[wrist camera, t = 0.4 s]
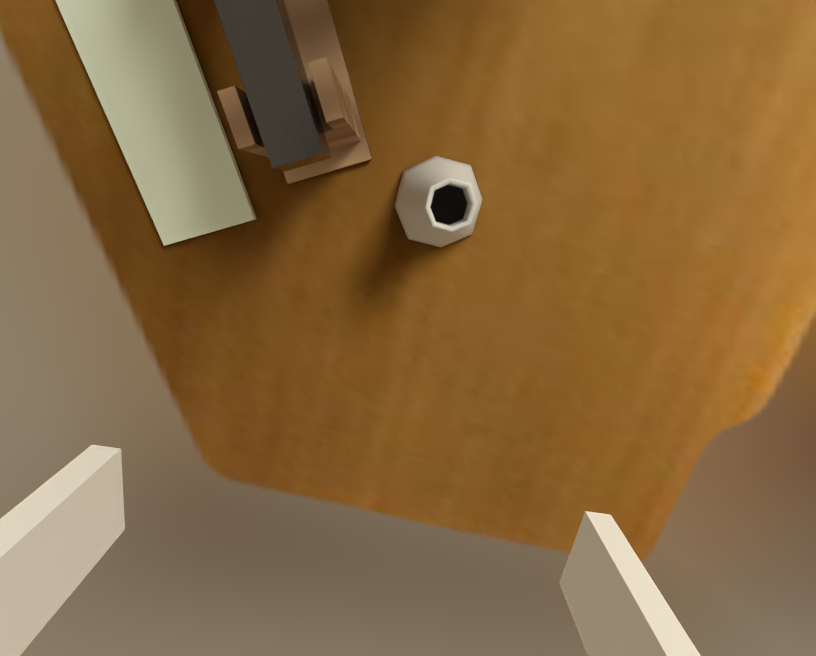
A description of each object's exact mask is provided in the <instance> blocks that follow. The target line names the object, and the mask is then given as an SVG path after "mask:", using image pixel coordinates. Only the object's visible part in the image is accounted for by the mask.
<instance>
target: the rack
mask: <svg viewBox="0 0 816 656" xmlns="http://www.w3.org/2000/svg"><path fill="white" fill-rule="evenodd" d="M284 2H285V5H286V9H287V12H288V15H289V19H290V22H291V25H292V28H293V32H294V35H295V38H296V42H297V45H298V48H299V51H300V55H301V58H302V61H303V65H304V68H305V71H306V74H307V78H308V81H309V84H310V88H311V91H312V94H313V97H314V101H315V104H316V107H317V111H318V114H319V117H320V120H321V124H322V127H323V130H324V134H325V137H326V140H327V143H328V147H329V150H330V153H331V157H332V158H329V159H326V160H322V161H319V162H316V163H312V164H309V165H305V166H302V167H299V168H295V169H292V170H289V171H283V173H284V176H285V179H286V181H287V184H290V183H294V182H297V181H300V180H304V179H307V178H311V177H314V176H317V175H321V174H324V173H328V172H331V171H334V170H338V169H341V168H345V167H348V166H351V165H355V164H358V163H362V162H365V161H368V160H372V158H371V154H370V151H369V147H368V144H367V140H366V136H365V133H364V129H363V126H362V122H361V118H360V115H359V111H358V108H357V104H356V101H355V97H354V93H353V90H352V86H351V83H350V79H349V75H348V72H347V68H346V65H345V61H344V57H343V54H342V50H341V47H340V43H339V39H338V36H337V32H336V29H335V25H334V21H333V18H332V14H331V11H330V7H329V3H328V0H284ZM217 92H218V95H219V98H220V101H221V103H222V106H223V109H224V112H225V114H226V117H227V120H228V123H229V125H230V128H231V131H232V134H233V136H234V139H235V142H236V145H237V147H238V149H240V150H243V151H246V152H250V153H253V154H257V155H260V156H264V157H267V158H268V155H267V152H266V150H265V147H264V144H263V141H262V138H261V135H260V132H259V129H258V127H257V124H256V121H255V118H254V115H253V112H252V109H251V106H250V103H249V101H248V98H247V95H246V93H245V92H243V91H242V90H240V89H239V88H237V87H235V86H232V87H229V88H226V89H222V90H219V91H217Z"/></svg>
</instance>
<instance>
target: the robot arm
mask: <svg viewBox="0 0 816 656" xmlns="http://www.w3.org/2000/svg"><path fill="white" fill-rule="evenodd" d="M124 530H125V520H124V500H123V480H122V461H121V449H120V448H112V447H105V446H97V445H91V446H90V447H89V448H87V449H86V450H85V451H84V452H83V453H81V454H80V455H79V456H78V457H76V458H75V459H74V460H72V461H71V462H70V463H69V464H68V465H66V466H65V467H64V468H63V469H61V470H60V471H59V472H58V473H56V474H55V475H54V476H53V477H51V478H50V479H49V480H48V481H46V482H45V483H44V484H43V485H42V486H40V487H39V488H38V489H37V490H36V491H34V492H33V493H32V494H30V495H29V496H28V497H27V498H25V499H24V500H23V501H22V502H21V503H19V504H18V505H17V506H16V507H14V508H13V509H12V510H11V511H9V512H8V513H7V514H6V515H4V516H3V517H2V518H1V519H0V656H20V655H21V654H22V653H23V651H24V650H25V649H26V648H27V647H28V645H29V644H30V643H31V642H32V640H33V639H34V638H35V637H36V636H37V634H38V633H39V632H40V631H41V630H42V628H43V627H44V626H45V625H46V623H47V622H48V621H49V620H50V619H51V618H52V616H53V615H54V614H55V613H56V612H57V610H58V609H59V608H60V607H61V605H62V604H63V603H64V602H65V601H66V599H67V598H68V597H69V596H70V595H71V593H72V592H73V591H74V590H75V589H76V587H77V586H78V585H79V584H80V583H81V581H82V580H83V579H84V578H85V577H86V575H87V574H88V573H89V572H90V571H91V569H92V568H93V567H94V566H95V565H96V563H97V562H98V561H99V559H100V558H101V557H102V556H103V555H104V554H105V553H106V551H107V550H108V549H109V548H110V546H111V545H112V544H113V543H114V541H115V540H116V539H117V538H118V537H119V536H120V534H121V533H122V532H123V531H124ZM559 584H560V586H561V589H562V591H563V594H564V596H565V599H566V601H567V604H568V606H569V609H570V611H571V614H572V616H573V619H574V622H575V624H576V627H577V629H578V632H579V634H580V637H581V640H582V642H583V645H584V647H585V650H586V652H587V655H588V656H700V654H699V653H698V651H697V650H696V648H695V646H694V645H693V643H692V642H691V640H690V639H689V637H688V635H687V634H686V632H685V631H684V629H683V628H682V626H681V624H680V623H679V621H678V620H677V618H676V617H675V615H674V613H673V612H672V610H671V609H670V607H669V606H668V604H667V603H666V601H665V599H664V598H663V596H662V595H661V593H660V591H659V590H658V589H657V587H656V586H655V584H654V582H653V580H652V579H651V578H650V576H649V574H648V573H647V571H646V570H645V568H644V566H643V565H642V563H641V562H640V560H639V558H638V557H637V555H636V554H635V552H634V551H633V549H632V547H631V546H630V544H629V543H628V541H627V540H626V538H625V536H624V535H623V533H622V532H621V530H620V529H619V527H618V525H617V524H616V522H615V521H614V519H613V518H612V516H611V515H609V514H602V513H594V512H587V511H585V514H584V516H583V519H582V522H581V525H580V527H579V530H578V533H577V536H576V538H575V541H574V544H573V547H572V549H571V552H570V555H569V558H568V560H567V563H566V566H565V569H564V571H563V574H562V577H561V580H560V582H559Z"/></svg>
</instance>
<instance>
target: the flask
mask: <svg viewBox="0 0 816 656" xmlns="http://www.w3.org/2000/svg"><path fill="white" fill-rule="evenodd" d="M482 200H483V199H482V197H481V194H480V191H479V188H478V185H477V182H476V179H475V176H474V173H473V170H472V168H471V165H468V164H464V163H461V162H457V161H454V160H450V159H446V158H443V157H439V156H434V157H432V158H430V159H428V160H425V161H423V162H421V163H419V164H416V165H414V166H412V167H409V168H407V169H405V170H403V173H402V177H401V181H400V185H399V189H398V194H397V198H396V202H395V209H396V211H397V214H398V216H399V219H400V221H401V224H402V226H403V228H404V231H405V233H406V236H407V238H408V239H409V240H413V241H417V242H421V243H425V244H429V245H433V246H436V247H440V248H441V247H443V246H446V245H448V244H450V243H453V242H455V241H458V240H460V239H462V238H465V237H467V236H470V235H472V234H473V231H474V227H475V224H476V221H477V217H478V214H479V210H480V207H481V204H482Z"/></svg>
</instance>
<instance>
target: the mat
mask: <svg viewBox="0 0 816 656" xmlns="http://www.w3.org/2000/svg"><path fill="white" fill-rule="evenodd" d="M55 1H56V3H57V5H58V7H59V10H60V12H61V14H62V16H63V19H64V21H65V23H66V26H67V28H68V30H69V32H70V35H71V37H72V39H73V41H74V44H75V46H76V48H77V50H78V53H79V55H80V57H81V59H82V62H83V64H84V66H85V68H86V71H87V73H88V75H89V77H90V80H91V82H92V84H93V87H94V89H95V91H96V93H97V96H98V98H99V100H100V102H101V105H102V107H103V109H104V111H105V114H106V116H107V118H108V120H109V123H110V125H111V127H112V129H113V132H114V134H115V136H116V139H117V141H118V143H119V145H120V148H121V150H122V152H123V154H124V157H125V159H126V161H127V163H128V166H129V168H130V170H131V172H132V175H133V177H134V179H135V181H136V184H137V186H138V188H139V190H140V193H141V195H142V197H143V200H144V202H145V204H146V206H147V209H148V211H149V213H150V215H151V218H152V220H153V222H154V224H155V227H156V229H157V231H158V233H159V236H160V238H161V240H162V242H163V245H164V246H165V245H169V244H173V243H176V242H180V241H183V240H186V239H190V238H193V237H197V236H200V235H204V234H207V233H211V232H214V231H217V230H221V229H224V228H228V227H231V226H235V225H238V224H242V223H245V222H249V221H252V220H255V219H257V218H256V215H255V212H254V210H253V207H252V204H251V202H250V199H249V196H248V193H247V191H246V188H245V185H244V183H243V180H242V177H241V175H240V172H239V169H238V166H237V164H236V161H235V158H234V156H233V153H232V150H231V147H230V145H229V142H228V139H227V137H226V134H225V131H224V129H223V126H222V123H221V120H220V118H219V115H218V112H217V110H216V107H215V104H214V101H213V99H212V96H211V93H210V91H209V88H208V85H207V83H206V80H205V77H204V74H203V72H202V69H201V66H200V64H199V61H198V58H197V55H196V53H195V50H194V47H193V45H192V42H191V39H190V37H189V34H188V31H187V28H186V26H185V23H184V20H183V18H182V15H181V12H180V10H179V7H178V4H177V1H176V0H55Z"/></svg>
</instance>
